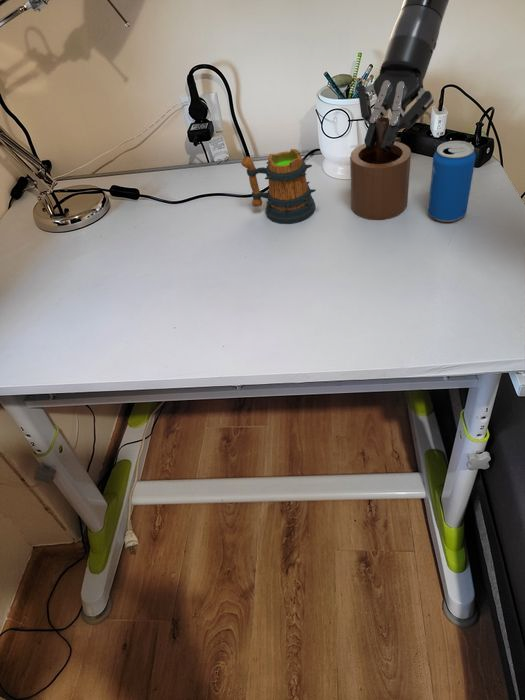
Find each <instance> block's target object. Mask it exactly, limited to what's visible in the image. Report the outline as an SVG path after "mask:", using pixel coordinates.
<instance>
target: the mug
mask: <svg viewBox="0 0 525 700" xmlns="http://www.w3.org/2000/svg"><path fill="white" fill-rule="evenodd" d="M306 159H307V158H306V157H304V158H303V156H302V155H301V152H300V151H299V150H297V149H296V148H290V151H281V152H278V153H276V154H274V153H270V154H269V155H268V158H267V161H266V164H267V165H266V167H258V168H256V166H255V164H254V162H253V160H252V158H251V157H250V156H245V157H244V158H243V159H242V160H241V162H240V164H241V166H242V167H244V168H245V169H246V174H247V176H248V179H249V185H250V188H251V190H252V192H251V197H252V201H251V204H252V206H253V207H258V208H259V207H262V205H263V200H262V198H263V199H267V202H266V206H265V214H266V217H267V219H269V220H270V221H271V222H273V223H276V224H280V225H292V224H297V223H301V222H303V221H306V220H308V219H309V218H311V217H312V216H313V215H314V213H315V211H316V202H315V199H314V198H313V197H312V196H313V195H312V193H315V192H316V189H314V188H313V189H311V187H310V186H309V185H310V181H307V173H306V172H307V170H308V169H309V168H312V167H313V164H307V163H306V162H305V161H306ZM258 174H263V175H266V177H265V178H264V180H268V186H267V187H268V190H267V192H262V190H260V187H259V182H258V179H257V175H258Z"/></svg>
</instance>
